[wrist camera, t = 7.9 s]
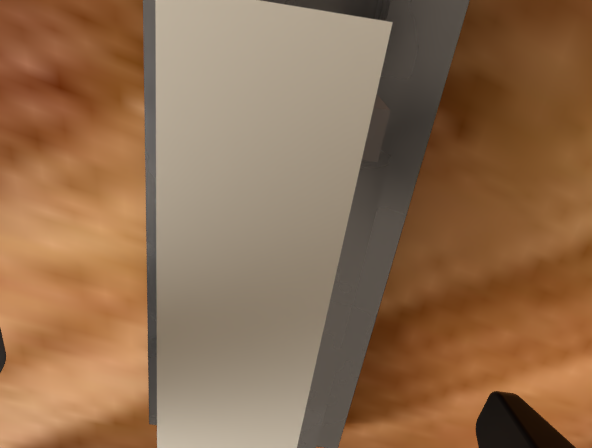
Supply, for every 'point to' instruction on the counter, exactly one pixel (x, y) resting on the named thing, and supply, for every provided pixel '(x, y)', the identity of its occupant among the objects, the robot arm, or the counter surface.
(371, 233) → the track
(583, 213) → the counter surface
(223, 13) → the door panel
